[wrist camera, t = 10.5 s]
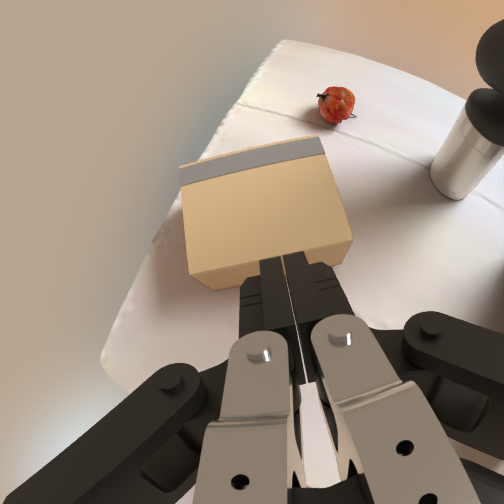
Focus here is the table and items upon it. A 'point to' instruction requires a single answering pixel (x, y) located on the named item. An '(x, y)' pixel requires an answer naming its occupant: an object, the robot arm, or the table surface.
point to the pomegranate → (336, 104)
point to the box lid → (260, 205)
